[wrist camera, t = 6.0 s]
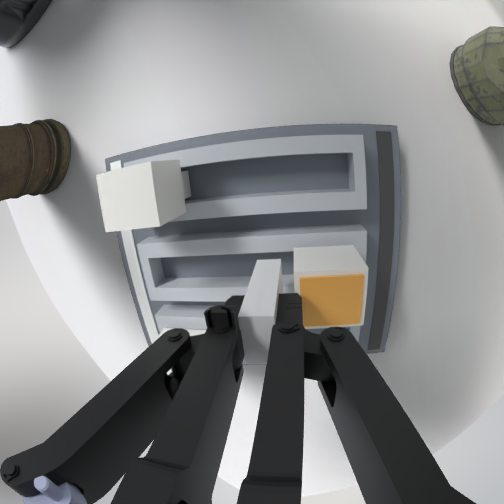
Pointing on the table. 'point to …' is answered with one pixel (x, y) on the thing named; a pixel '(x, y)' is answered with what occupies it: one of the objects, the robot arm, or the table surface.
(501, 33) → the thermos
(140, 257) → the panel
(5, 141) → the container
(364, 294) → the handle
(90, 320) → the table surface
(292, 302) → the robot arm
